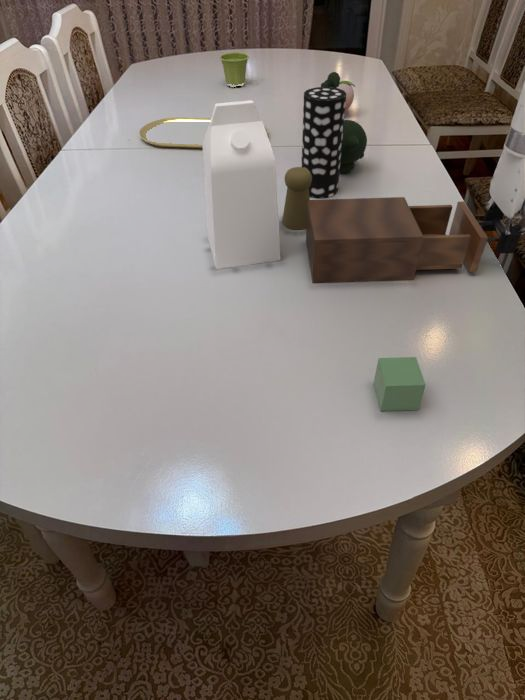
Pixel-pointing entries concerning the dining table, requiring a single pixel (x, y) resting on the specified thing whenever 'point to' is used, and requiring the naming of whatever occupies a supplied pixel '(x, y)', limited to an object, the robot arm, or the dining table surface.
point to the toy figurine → (348, 134)
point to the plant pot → (234, 67)
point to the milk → (240, 187)
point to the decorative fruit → (347, 92)
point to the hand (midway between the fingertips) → (496, 240)
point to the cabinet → (362, 240)
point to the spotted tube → (323, 138)
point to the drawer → (451, 237)
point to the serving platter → (170, 120)
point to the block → (398, 384)
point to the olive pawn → (296, 198)
